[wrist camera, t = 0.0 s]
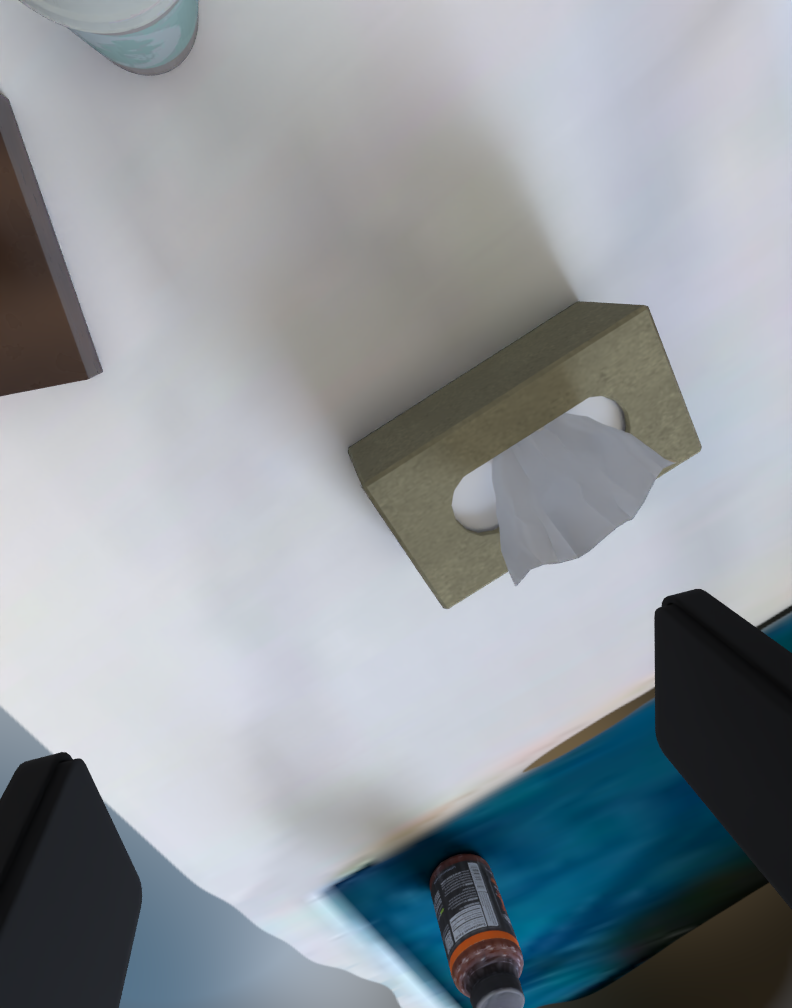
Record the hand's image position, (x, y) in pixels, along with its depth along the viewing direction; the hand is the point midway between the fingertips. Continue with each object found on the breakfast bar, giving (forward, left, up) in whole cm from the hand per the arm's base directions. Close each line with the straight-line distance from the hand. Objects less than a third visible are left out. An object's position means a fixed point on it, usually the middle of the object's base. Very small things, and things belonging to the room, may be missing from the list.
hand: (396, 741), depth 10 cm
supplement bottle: (+46, +4, -31) cm, 56 cm away
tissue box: (+5, +12, -31) cm, 34 cm away
